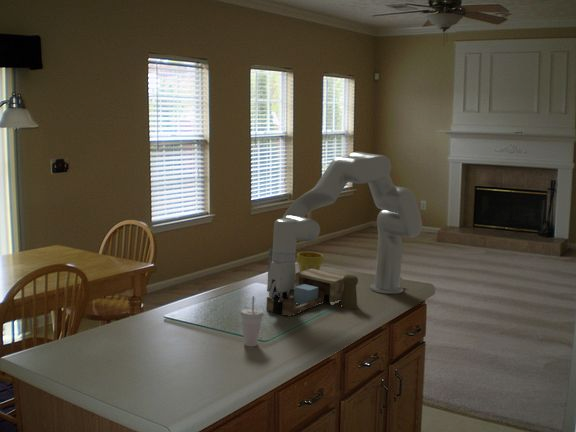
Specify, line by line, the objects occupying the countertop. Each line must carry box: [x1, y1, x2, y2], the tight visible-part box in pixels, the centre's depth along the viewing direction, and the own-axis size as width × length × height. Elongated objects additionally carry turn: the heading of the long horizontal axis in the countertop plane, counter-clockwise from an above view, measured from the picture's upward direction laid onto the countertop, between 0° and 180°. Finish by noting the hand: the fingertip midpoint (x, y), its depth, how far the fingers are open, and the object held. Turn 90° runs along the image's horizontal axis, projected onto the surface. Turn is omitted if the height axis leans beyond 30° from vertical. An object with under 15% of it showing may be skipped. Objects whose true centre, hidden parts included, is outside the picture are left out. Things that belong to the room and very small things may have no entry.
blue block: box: [293, 284, 318, 304], centre depth 228 cm, size 6×6×6 cm
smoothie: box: [240, 296, 264, 347], centre depth 184 cm, size 6×6×14 cm
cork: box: [339, 274, 359, 310], centre depth 227 cm, size 6×6×11 cm
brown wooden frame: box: [265, 291, 325, 317], centre depth 223 cm, size 21×9×4 cm, turn 146°
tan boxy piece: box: [294, 269, 346, 303], centre depth 236 cm, size 10×16×8 cm, turn 56°
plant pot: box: [296, 251, 324, 272], centre depth 263 cm, size 10×10×10 cm
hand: (280, 311), depth 215 cm, fingers closed on brown wooden frame, 3 cm apart
